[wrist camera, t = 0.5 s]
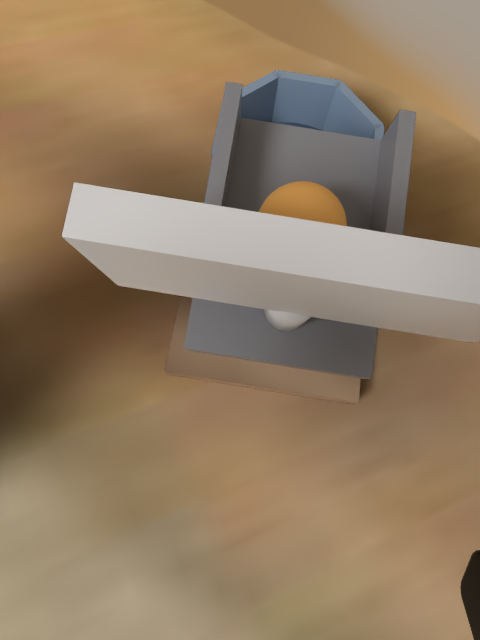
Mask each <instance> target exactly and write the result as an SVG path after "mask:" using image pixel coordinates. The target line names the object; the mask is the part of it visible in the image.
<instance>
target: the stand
mask: <svg viewBox="0 0 480 640" xmlns="http://www.w3.org/2000/svg"><path fill="white" fill-rule="evenodd" d="M191 304H192V298H191V297H185V296H180V300H179V305H178V309H177V314H176V319H175V324H174V328H173V333H172V338H171V343H170V347H169V352H168V357H167V362H166V366H165V372H166V374H169V375H175V376H181V377H187V378H193V379H200V380H206V381H212V382H218V383H224V384H230V385H237V386H243V387H249V388H255V389H261V390H268V391H274V392H280V393H286V394H292V395H298V396H305V397H311V398H317V399H323V400H329V401H335V402H342V403H348V404H355V403H358V402H359V394H360V380H361V379H359V378H353V377H347V376H341V375H335V374H328V373H322V372H316V371H310V370H304V369H298V368H291V367H285V366H279V365H273V364H267V363H261V362H254V361H248V360H242V359H236V358H230V357H223V356H217V355H211V354H205V353H199V352H193V351H187V350H185V349H184V343H185V337H186V332H187V326H188V321H189V315H190V310H191Z"/></svg>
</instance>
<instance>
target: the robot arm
mask: <svg viewBox="0 0 480 640" xmlns="http://www.w3.org/2000/svg"><path fill="white" fill-rule="evenodd" d="M461 596H462V600H463V603H464V607H465V610H466V614H467V617H468V621H469V624H470V627H471V631H472V634H473V638H474V640H480V550H477V551H475V552H474V553H473V554H472V555H471V558H470V560H469V563H468V566H467V568H466V571H465V573H464V576H463V578H462V581H461Z"/></svg>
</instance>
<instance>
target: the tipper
mask: <svg viewBox="0 0 480 640" xmlns="http://www.w3.org/2000/svg"><path fill="white" fill-rule="evenodd" d="M241 108H242V84H238V83H232V82H226V85H225V91H224V96H223V102H222V107H221V113H220V118H219V124H218V129H217V135H216V140H215V146H214V151H213V157H212V162H211V168H210V173H209V179H208V184H207V190H206V195H205V201H204V203H199V202H193V201H186V200H180V199H174V198H168V197H162V196H155V195H149V194H143V193H137V192H131V191H124V190H118V189H112V188H106V187H100V186H93V185H87V184H81V183H75V182H74V185H73V190H72V194H71V198H70V203H69V207H68V211H67V216H66V220H65V224H64V229H63V233H62V237H63V238H64V239H65V240H66V241H67V242H68V243H70V244H71V245H72V246H73V247H74V248H75V249H76V250H78V251H79V252H80V253H81V254H82V255H83V256H84V257H86V258H87V259H88V260H89V261H90V262H91V263H92V264H94V265H95V266H96V267H97V268H98V269H99V270H101V271H102V272H103V273H104V274H105V275H106V276H107V277H109V278H110V279H111V280H112V281H113V282H114V283H115V284H117V285H118V286H123V287H130V288H136V289H142V290H148V291H154V292H161V293H167V294H173V295H179V296H185V297H191V298H192V304H191V310H190V315H189V321H188V326H187V332H186V337H185V343H184V349H185V350H187V351H193V352H199V353H205V354H211V355H217V356H223V357H230V358H236V359H242V360H248V361H254V362H261V363H267V364H273V365H279V366H285V367H291V368H298V369H304V370H310V371H316V372H322V373H328V374H335V375H341V376H347V377H353V378H359V379H372V372H373V363H374V354H375V346H376V337H377V328H383V329H389V330H395V331H402V332H408V333H414V334H420V335H426V336H432V337H439V338H445V339H451V340H457V341H463V342H470V343H471V342H477V341H480V248H478V247H471V246H465V245H459V244H453V243H447V242H440V241H434V240H428V239H422V238H416V237H409V236H403V229H404V220H405V211H406V202H407V193H408V183H409V174H410V165H411V156H412V147H413V138H414V128H415V119H416V112H412V111H406V110H399V112H398V114H397V115H396V117H395V118H394V120H393V122H392V123H391V125H390V126H389V128H388V130H387V131H386V133H385V135H384V136H383V138H382V139H381V140H377V139H371V138H365V137H358V136H352V135H346V134H340V133H334V132H327V131H321V130H315V129H309V128H303V127H296V126H290V125H284V124H278V123H271V122H265V121H259V120H253V119H247V118H241ZM297 181H308V182H313V183H317V184H320V185H322V186H324V187H326V188H327V189H329V190H330V191H331V192H332V193H333V194H334V195H335V196H336V197H337V198H338V200H339V201H340V202H341V204H342V206H343V208H344V211H345V215H346V220H347V226H341V225H335V224H329V223H323V222H316V221H310V220H304V219H298V218H292V217H285V216H279V215H273V214H267V213H261V212H259V210H260V208H261V206H262V204H263V203H264V201H265V200H266V199H267V197H268V196H269V195H270V194H271V193H272V192H274V191H275V190H276V189H278V188H279V187H281V186H283V185H285V184H288V183H292V182H297Z"/></svg>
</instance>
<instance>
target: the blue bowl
mask: <svg viewBox="0 0 480 640" xmlns="http://www.w3.org/2000/svg"><path fill="white" fill-rule="evenodd" d="M222 102H223V101H222ZM221 107H222V106H221ZM220 113H221V110H220ZM219 118H220V115H219ZM241 118H247V119H253V120H259V121H265V122H271V123H278V124H284V125H290V126H296V127H303V128H309V129H315V130H321V131H327V132H334V133H340V134H346V135H352V136H358V137H365V138H371V139H377V140H381V139H382V138H383V136H384V126H383V123H382V122H381V121H380V120H379V119H378V118H377V117H376V116H375V115H374V114H373V113H372V112H371V110H370V109H369V108H368V107H367V106H366V105H365V104H364V103H363V102H362V101H361V100H360V99H359V98H358V97H357V96H356V95H355V94H354V93H353V92H352V91H351V90H350V89H349V88H348V87H347V86H346V85H345V84H344V83H343V82H342V81H341V82H340V80H337V79H331V78H324V77H318V76H312V75H306V74H300V73H293V72H287V71H281V70H277V71H276V70H275V71H273V72H271V73H269V74H268V75H266V76H264V77H262V78H260V79H258V80H257V81H255V82H253V83H251V84H249V85H247V86H246V87H244V88H242V108H241ZM218 124H219V120H218ZM217 129H218V125H217ZM217 129H216V134H215V139H214V144H213V149H212V153H211V158H212V157H213V151H214V146H215V140H216V135H217Z"/></svg>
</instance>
